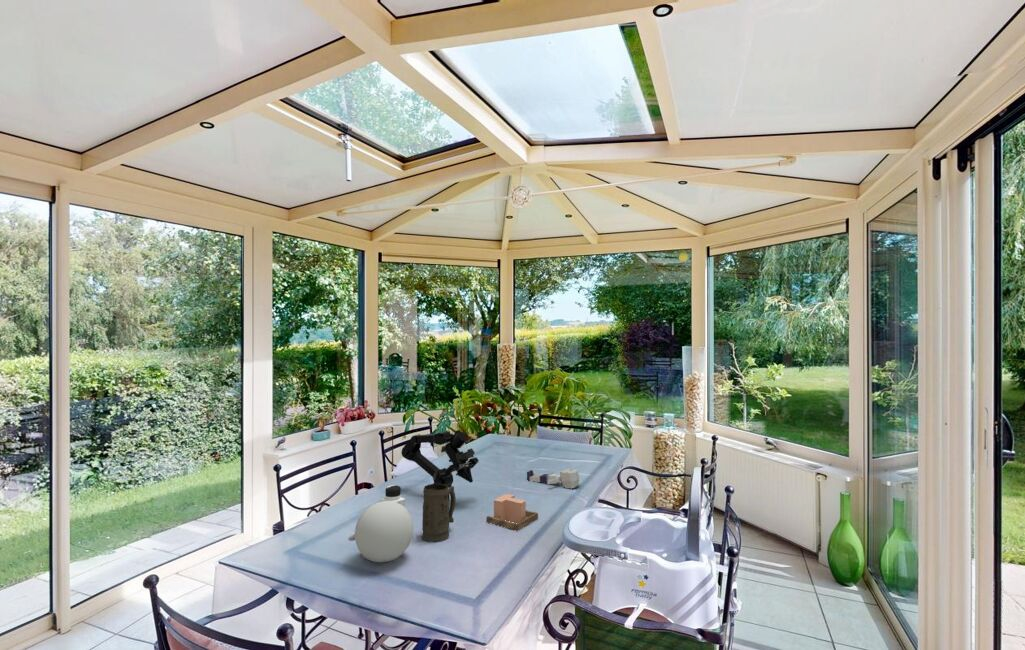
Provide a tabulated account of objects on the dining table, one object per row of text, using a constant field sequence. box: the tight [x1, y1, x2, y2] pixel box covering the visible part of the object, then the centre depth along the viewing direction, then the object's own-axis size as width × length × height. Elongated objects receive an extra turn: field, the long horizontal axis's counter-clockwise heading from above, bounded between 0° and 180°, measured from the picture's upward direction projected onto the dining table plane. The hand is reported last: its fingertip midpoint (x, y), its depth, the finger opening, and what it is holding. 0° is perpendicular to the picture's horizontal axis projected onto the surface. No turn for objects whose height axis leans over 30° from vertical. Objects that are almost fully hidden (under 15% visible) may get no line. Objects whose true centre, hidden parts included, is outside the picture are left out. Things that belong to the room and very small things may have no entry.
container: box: [380, 484, 406, 508], centre depth 204 cm, size 8×8×13 cm
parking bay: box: [486, 509, 539, 532], centre depth 199 cm, size 16×16×2 cm
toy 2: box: [347, 501, 414, 563], centre depth 164 cm, size 20×20×20 cm
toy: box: [526, 468, 580, 490], centre depth 251 cm, size 21×9×30 cm
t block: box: [493, 493, 527, 523], centre depth 200 cm, size 12×10×9 cm
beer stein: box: [421, 483, 457, 542], centre depth 185 cm, size 15×11×20 cm
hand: (471, 482), depth 212 cm, fingers closed
